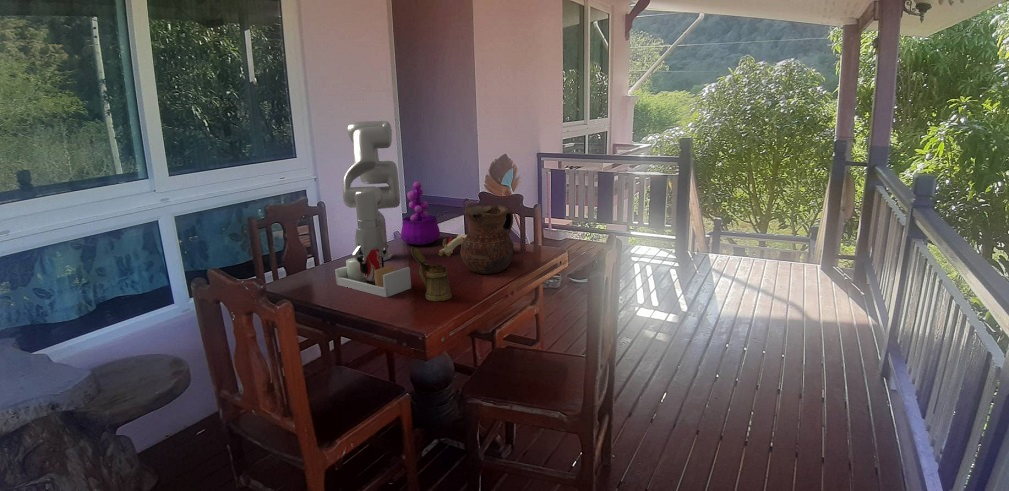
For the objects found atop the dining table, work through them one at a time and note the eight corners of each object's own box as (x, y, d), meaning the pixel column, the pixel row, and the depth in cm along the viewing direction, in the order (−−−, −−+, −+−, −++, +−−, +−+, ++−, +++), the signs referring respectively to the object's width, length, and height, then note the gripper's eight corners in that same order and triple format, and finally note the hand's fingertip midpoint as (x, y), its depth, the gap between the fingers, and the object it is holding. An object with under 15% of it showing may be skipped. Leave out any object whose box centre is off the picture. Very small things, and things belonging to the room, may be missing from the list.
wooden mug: (420, 292, 211) (416, 243, 207) (455, 294, 207) (452, 244, 203) (409, 300, 203) (405, 249, 198) (446, 302, 199) (443, 251, 195)
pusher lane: (336, 284, 223) (334, 264, 221) (361, 276, 232) (359, 257, 230) (386, 297, 207) (384, 275, 205) (411, 288, 216) (409, 267, 214)
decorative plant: (423, 250, 271) (418, 185, 264) (393, 245, 281) (388, 183, 274) (448, 241, 286) (444, 179, 279) (419, 237, 296) (415, 178, 289)
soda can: (378, 281, 214) (375, 250, 211) (360, 281, 216) (357, 249, 213) (386, 276, 221) (383, 245, 218) (368, 275, 222) (365, 245, 220)
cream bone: (454, 259, 258) (476, 242, 280) (453, 240, 255) (474, 224, 277) (434, 258, 261) (457, 241, 283) (432, 239, 259) (455, 223, 281)
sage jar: (344, 283, 224) (342, 261, 222) (359, 279, 230) (356, 256, 227) (356, 286, 220) (353, 263, 218) (370, 281, 225) (368, 259, 223)
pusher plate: (376, 291, 212) (374, 270, 210) (393, 285, 219) (391, 264, 217) (377, 292, 212) (375, 270, 210) (395, 285, 218) (393, 265, 216)
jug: (495, 280, 222) (492, 215, 216) (450, 273, 233) (447, 211, 227) (524, 265, 240) (522, 205, 234) (482, 259, 251) (479, 201, 245)
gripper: (379, 218, 222) (383, 263, 227) (342, 227, 209) (347, 275, 213) (393, 220, 218) (397, 266, 222) (355, 229, 204) (360, 278, 209)
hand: (372, 270), depth 218 cm, fingers closed on soda can, 7 cm apart
